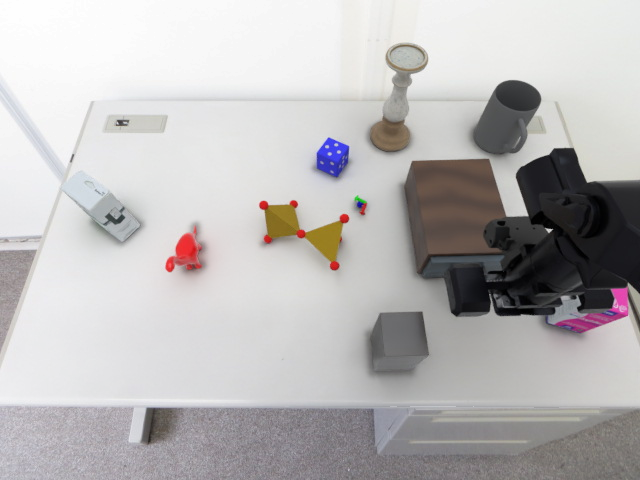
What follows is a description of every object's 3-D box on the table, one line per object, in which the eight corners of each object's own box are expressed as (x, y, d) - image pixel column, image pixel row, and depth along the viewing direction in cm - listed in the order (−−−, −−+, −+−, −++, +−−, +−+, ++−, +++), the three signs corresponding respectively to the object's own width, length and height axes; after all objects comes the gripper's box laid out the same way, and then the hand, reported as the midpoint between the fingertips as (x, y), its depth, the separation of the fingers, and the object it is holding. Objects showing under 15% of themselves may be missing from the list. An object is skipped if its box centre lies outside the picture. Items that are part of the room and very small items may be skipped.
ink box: (93, 221, 75) (56, 186, 64) (113, 204, 77) (79, 167, 66) (122, 243, 72) (88, 211, 62) (142, 225, 74) (112, 190, 64)
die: (348, 161, 81) (349, 145, 77) (337, 177, 79) (337, 162, 75) (328, 152, 82) (328, 136, 78) (316, 168, 80) (316, 152, 76)
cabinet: (497, 271, 69) (517, 251, 62) (417, 273, 69) (428, 254, 62) (474, 184, 78) (489, 158, 71) (403, 186, 78) (411, 160, 71)
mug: (468, 124, 86) (488, 80, 75) (508, 122, 86) (533, 78, 75) (483, 172, 79) (507, 131, 69) (526, 170, 80) (557, 128, 69)
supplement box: (545, 324, 64) (586, 303, 54) (547, 293, 67) (586, 267, 57) (581, 335, 63) (630, 315, 53) (581, 303, 66) (628, 278, 56)
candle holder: (403, 156, 82) (425, 77, 64) (365, 145, 83) (376, 65, 65) (413, 128, 85) (437, 46, 68) (376, 118, 87) (390, 35, 69)
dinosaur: (205, 224, 74) (185, 187, 63) (204, 296, 67) (181, 268, 56) (185, 227, 74) (161, 190, 63) (182, 299, 67) (154, 272, 56)
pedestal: (410, 370, 61) (429, 355, 50) (373, 371, 61) (384, 356, 50) (405, 333, 64) (422, 311, 53) (370, 334, 64) (379, 312, 53)
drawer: (503, 298, 65) (520, 285, 60) (426, 300, 65) (436, 287, 60) (475, 190, 76) (487, 171, 71) (409, 192, 76) (415, 173, 71)
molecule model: (285, 178, 78) (276, 152, 66) (368, 204, 76) (374, 182, 64) (257, 251, 75) (243, 237, 63) (343, 280, 73) (345, 271, 61)
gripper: (617, 197, 43) (546, 255, 57) (455, 201, 43) (423, 259, 57) (660, 289, 38) (571, 328, 52) (476, 293, 38) (435, 332, 52)
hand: (498, 308), depth 53 cm, fingers closed
